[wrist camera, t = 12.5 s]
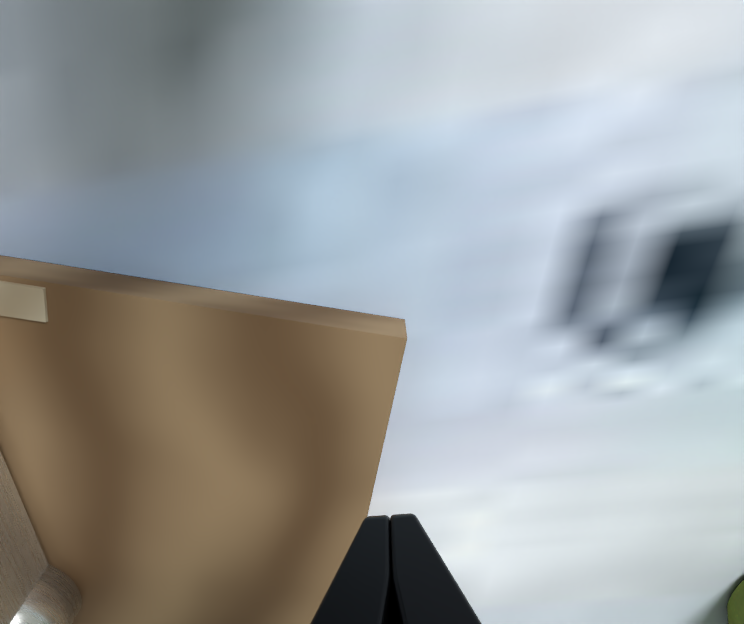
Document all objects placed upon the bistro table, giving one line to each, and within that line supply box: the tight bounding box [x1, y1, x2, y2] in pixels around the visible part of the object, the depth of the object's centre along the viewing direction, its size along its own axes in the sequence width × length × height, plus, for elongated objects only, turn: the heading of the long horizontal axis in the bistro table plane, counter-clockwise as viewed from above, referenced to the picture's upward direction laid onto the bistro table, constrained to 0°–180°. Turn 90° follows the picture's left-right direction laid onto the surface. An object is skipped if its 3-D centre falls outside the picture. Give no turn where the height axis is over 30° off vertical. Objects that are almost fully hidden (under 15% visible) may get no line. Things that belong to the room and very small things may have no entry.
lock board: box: [0, 255, 407, 624], centre depth 23 cm, size 22×22×2 cm
